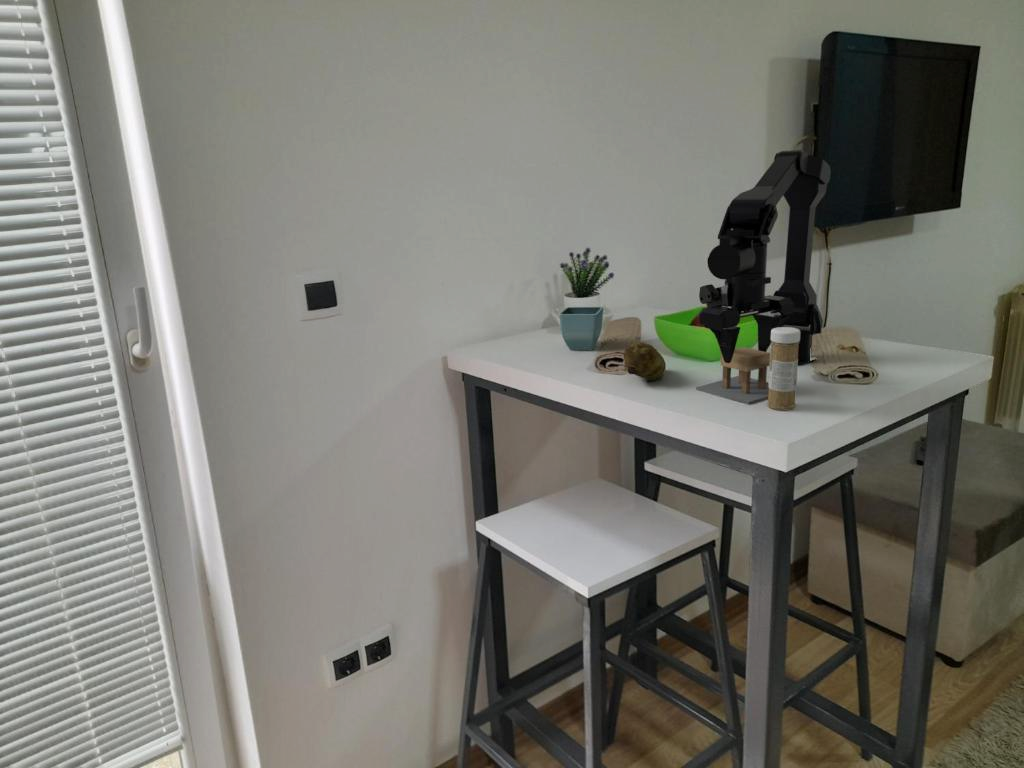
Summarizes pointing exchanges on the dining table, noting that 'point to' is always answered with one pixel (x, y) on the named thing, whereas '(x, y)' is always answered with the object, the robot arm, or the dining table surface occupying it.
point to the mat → (737, 391)
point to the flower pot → (581, 326)
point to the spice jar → (783, 368)
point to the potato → (644, 361)
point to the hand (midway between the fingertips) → (744, 358)
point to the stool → (746, 367)
